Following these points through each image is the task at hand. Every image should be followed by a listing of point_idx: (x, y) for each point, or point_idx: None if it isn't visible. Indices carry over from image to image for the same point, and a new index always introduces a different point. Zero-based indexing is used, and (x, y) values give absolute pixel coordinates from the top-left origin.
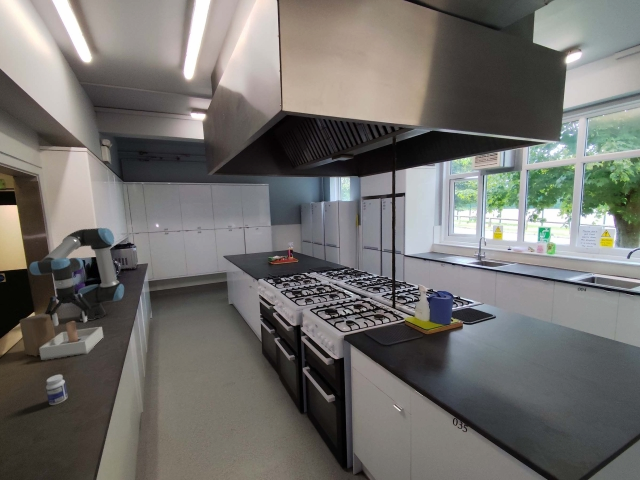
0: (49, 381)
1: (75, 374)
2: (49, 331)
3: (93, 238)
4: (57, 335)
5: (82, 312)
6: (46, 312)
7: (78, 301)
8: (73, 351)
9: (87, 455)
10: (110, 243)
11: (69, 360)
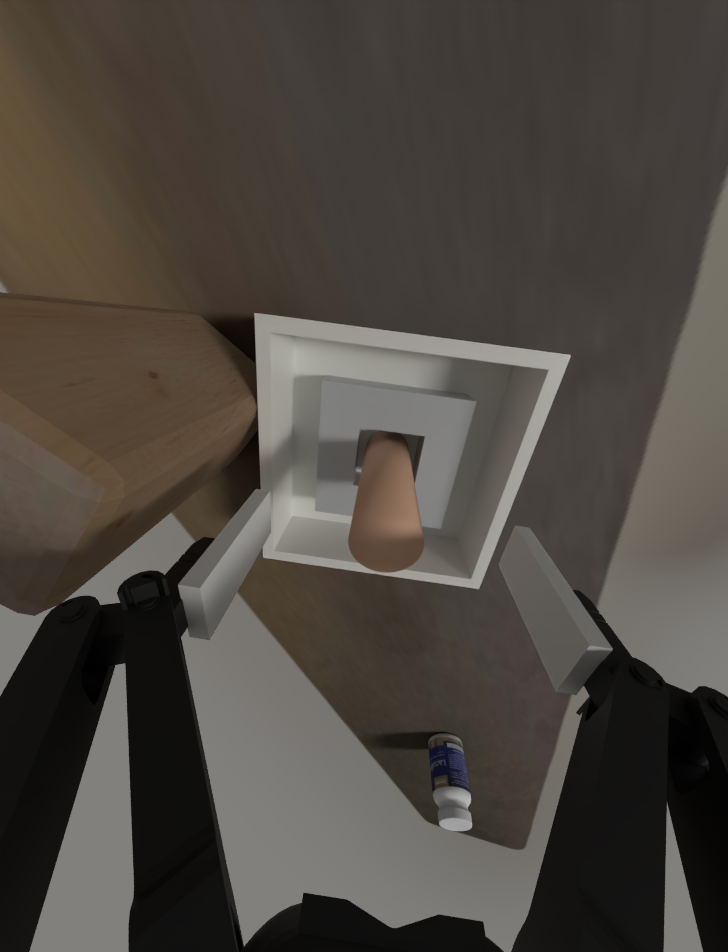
0: (448, 829)
1: (454, 664)
2: (214, 451)
3: None
4: (260, 387)
5: (554, 675)
6: (85, 678)
7: (654, 931)
8: None
9: (517, 837)
10: None
11: None
